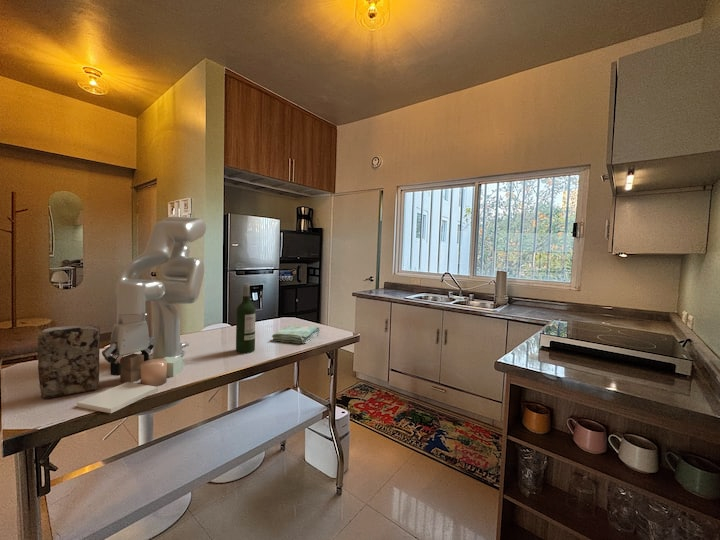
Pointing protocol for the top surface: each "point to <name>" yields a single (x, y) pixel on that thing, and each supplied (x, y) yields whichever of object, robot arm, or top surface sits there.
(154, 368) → the peach rounded cube
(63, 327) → the stone block
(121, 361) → the walnut block
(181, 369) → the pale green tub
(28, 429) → the top surface
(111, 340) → the robot arm
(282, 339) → the towel
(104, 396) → the cream board
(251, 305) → the wine bottle
